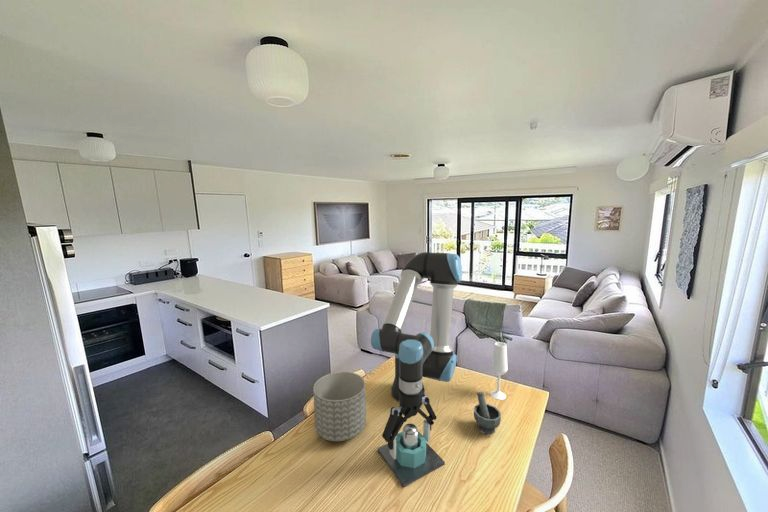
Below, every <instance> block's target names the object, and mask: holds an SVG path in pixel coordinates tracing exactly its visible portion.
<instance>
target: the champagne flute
mask: <svg viewBox="0 0 768 512" xmlns="http://www.w3.org/2000/svg"><path fill="white" fill-rule="evenodd" d="M507 345H508V344H506V343H505V342H502V341H496V342H495V343H494V347H493V354H492V361H491V370H492V371H493V372H494V373H495V374H496V375H497V380H496V382H497V386H496V390H492V391H490V396H491V398H493V399H495V400H499V401H500V400H501V401H503V400H506V398H507V394H505V393H504V392H502V391H501V376H503V375H505V374H506V373H507V371H508V368H509V367H508V349H507Z"/></svg>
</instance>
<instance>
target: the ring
mask: <svg viewBox="0 0 768 512" xmlns="http://www.w3.org/2000/svg"><path fill="white" fill-rule="evenodd" d="M395 439H396V459H397V461H398V462H399V463H400V465H401V466H405V467H410V468H416V467H418V466H420V465H421V464H423V463H425V457H426V443H427V441H426V439H425V438H424V437H423V433H420V431H418V448H416V449H414V450H410V449H405V448H403V430H401V432H400V431H399V432H398V434H397V435H396V437H395Z"/></svg>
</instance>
